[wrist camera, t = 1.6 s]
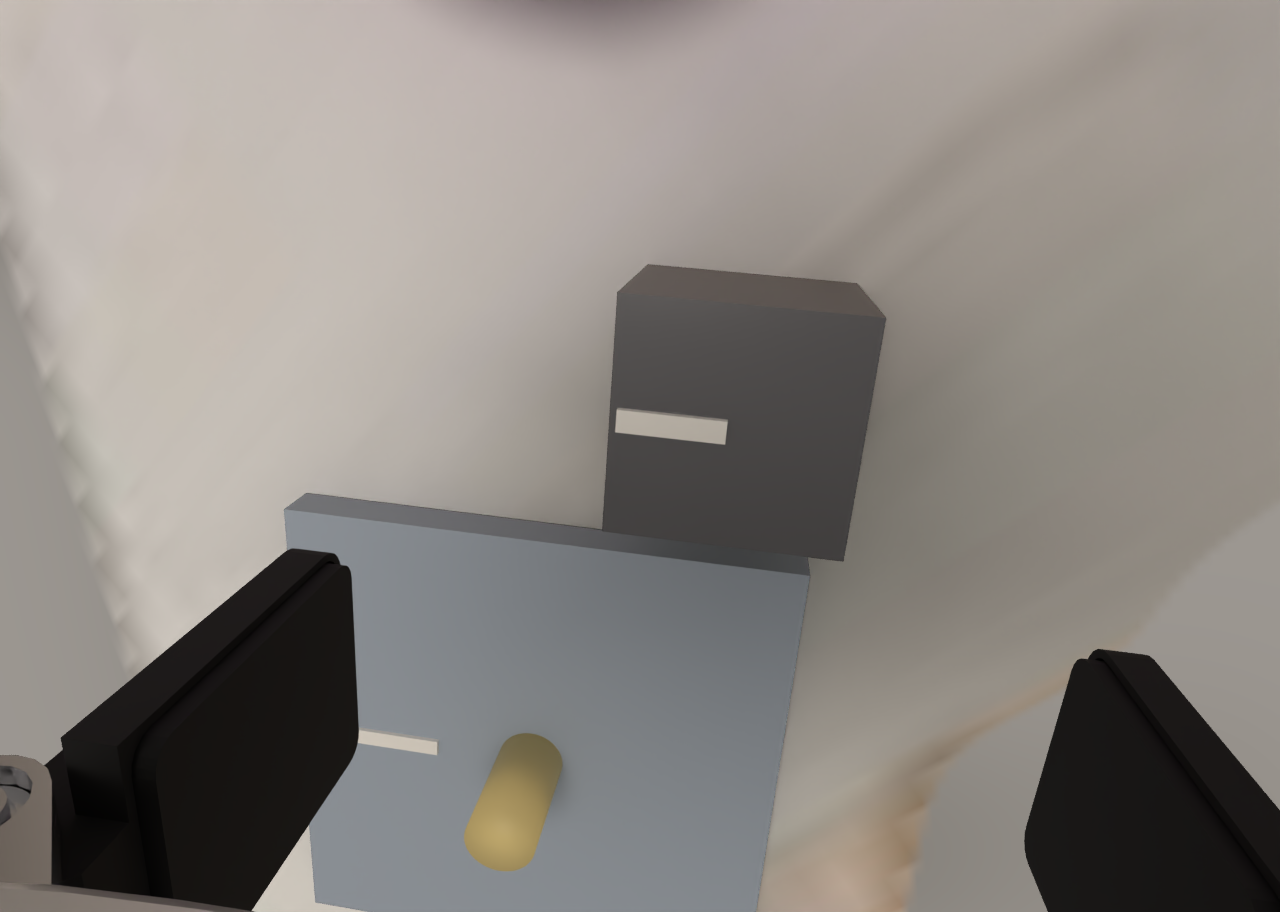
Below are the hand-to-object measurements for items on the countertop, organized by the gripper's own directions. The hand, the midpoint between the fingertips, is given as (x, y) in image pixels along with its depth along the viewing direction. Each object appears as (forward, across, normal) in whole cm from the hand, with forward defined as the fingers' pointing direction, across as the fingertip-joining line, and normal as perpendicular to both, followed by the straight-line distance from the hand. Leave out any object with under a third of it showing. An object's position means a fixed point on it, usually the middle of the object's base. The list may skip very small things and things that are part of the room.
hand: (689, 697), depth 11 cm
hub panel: (+17, +6, +15) cm, 23 cm away
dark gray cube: (+17, 0, 0) cm, 17 cm away
